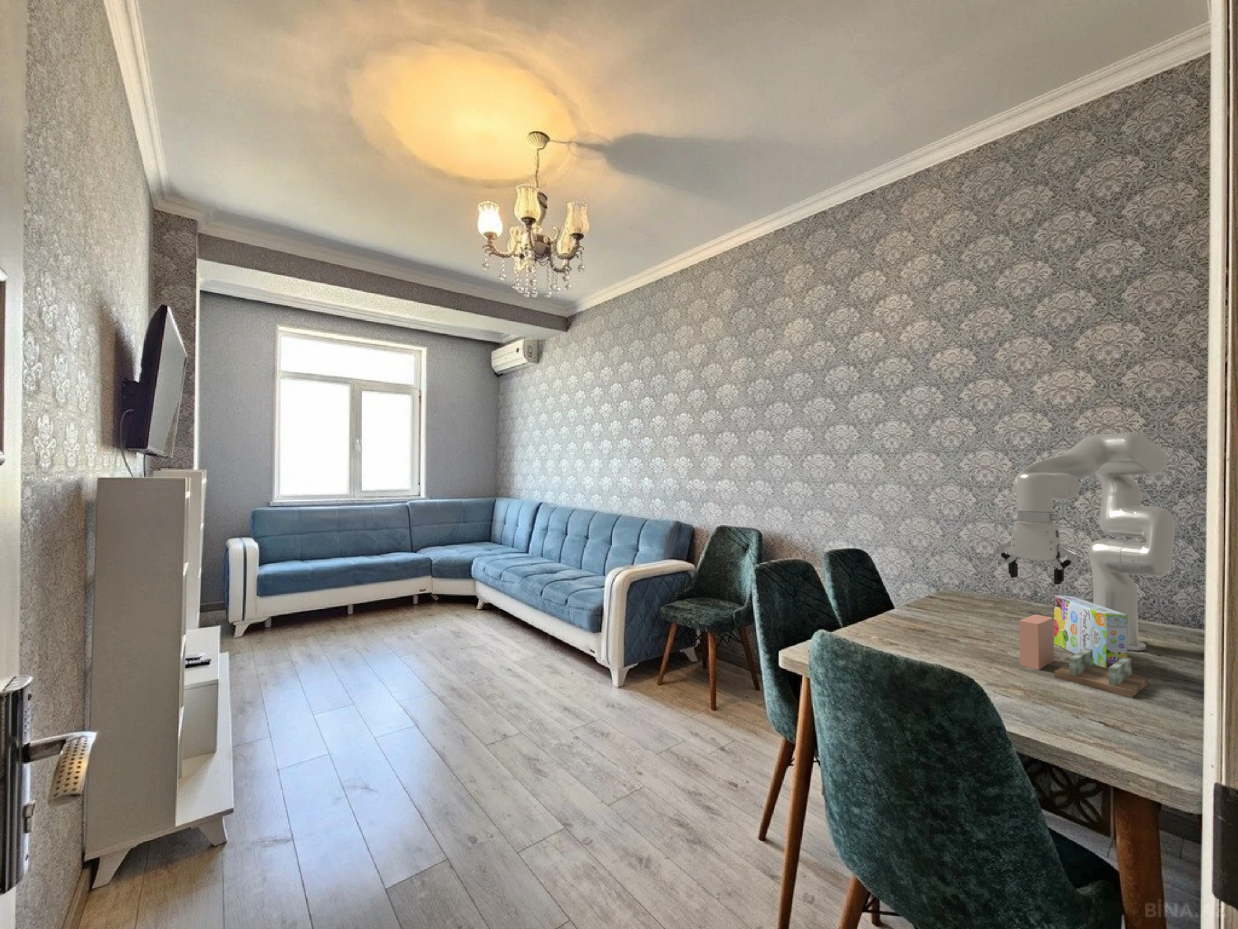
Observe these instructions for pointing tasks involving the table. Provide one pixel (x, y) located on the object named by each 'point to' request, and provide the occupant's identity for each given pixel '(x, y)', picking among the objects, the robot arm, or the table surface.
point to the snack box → (1090, 629)
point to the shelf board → (1102, 674)
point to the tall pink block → (1036, 641)
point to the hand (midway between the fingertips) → (1035, 580)
